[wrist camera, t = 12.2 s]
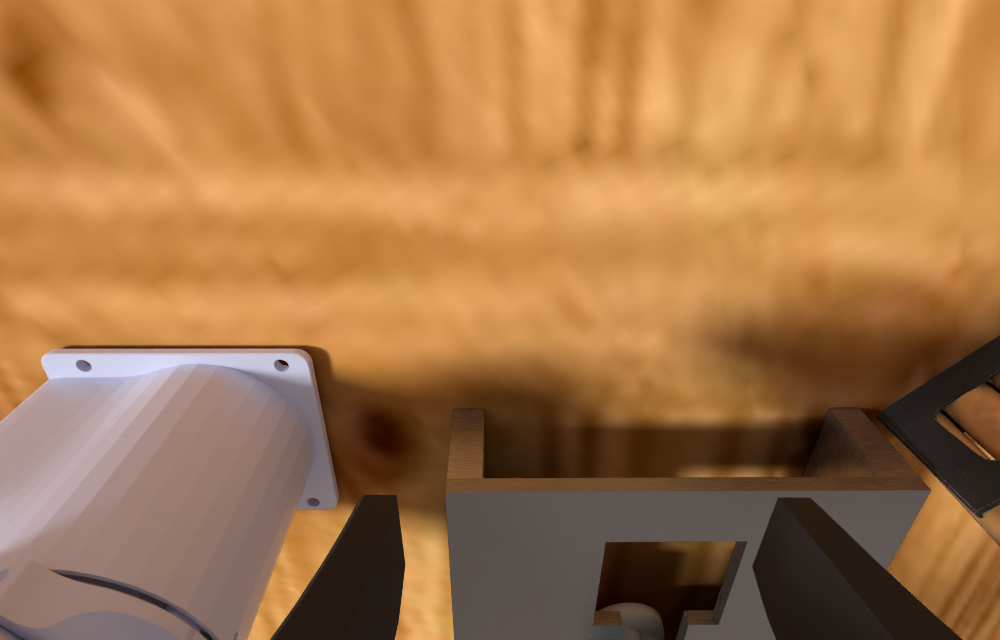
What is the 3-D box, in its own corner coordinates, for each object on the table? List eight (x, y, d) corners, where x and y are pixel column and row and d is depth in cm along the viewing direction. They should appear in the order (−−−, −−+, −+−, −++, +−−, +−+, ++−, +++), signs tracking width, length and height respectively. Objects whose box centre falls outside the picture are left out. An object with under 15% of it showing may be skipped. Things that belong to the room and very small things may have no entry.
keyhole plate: (466, 700, 33) (463, 788, 30) (452, 409, 22) (445, 492, 18) (736, 698, 33) (766, 784, 30) (859, 408, 22) (931, 490, 19)
